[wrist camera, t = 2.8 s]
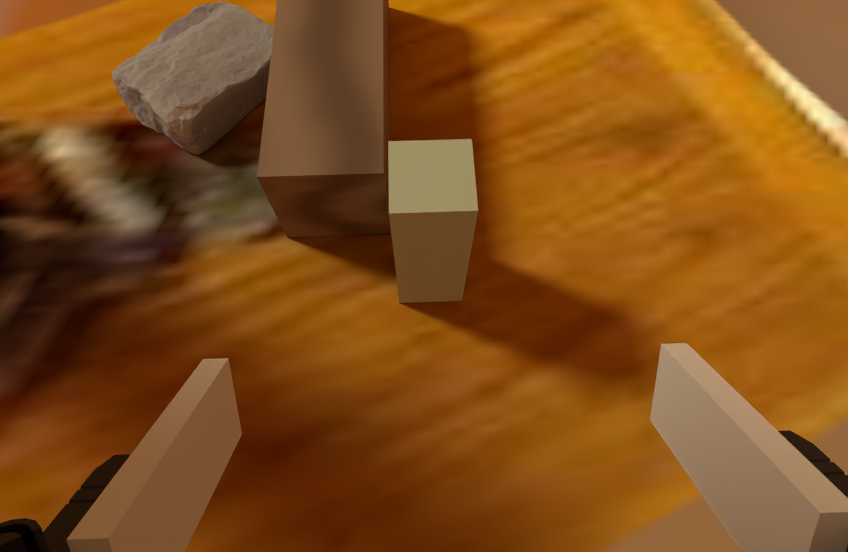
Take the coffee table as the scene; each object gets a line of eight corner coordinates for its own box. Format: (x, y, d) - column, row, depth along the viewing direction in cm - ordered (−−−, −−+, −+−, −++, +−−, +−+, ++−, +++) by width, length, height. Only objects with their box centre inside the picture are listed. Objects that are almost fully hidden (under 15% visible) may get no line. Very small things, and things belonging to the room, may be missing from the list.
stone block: (127, 123, 42) (203, 168, 38) (86, 71, 38) (166, 115, 34) (235, 41, 46) (314, 73, 42) (209, -14, 42) (293, 16, 38)
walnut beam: (287, 237, 35) (256, 176, 29) (306, 8, 44) (286, -76, 38) (390, 234, 35) (383, 173, 29) (388, 6, 44) (382, -78, 38)
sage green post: (399, 302, 33) (389, 213, 23) (398, 247, 35) (388, 141, 25) (462, 301, 33) (478, 210, 23) (458, 245, 35) (471, 138, 25)
